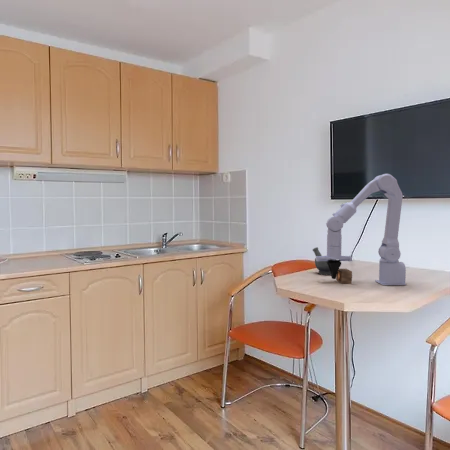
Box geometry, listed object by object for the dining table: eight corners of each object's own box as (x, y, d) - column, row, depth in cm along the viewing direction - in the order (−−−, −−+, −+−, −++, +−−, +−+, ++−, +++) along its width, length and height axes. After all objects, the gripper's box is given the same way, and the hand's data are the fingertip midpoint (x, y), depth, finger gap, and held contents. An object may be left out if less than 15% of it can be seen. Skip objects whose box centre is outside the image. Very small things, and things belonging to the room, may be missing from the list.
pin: (349, 279, 164) (349, 270, 163) (352, 281, 160) (353, 271, 160) (335, 279, 164) (335, 270, 163) (338, 281, 160) (338, 272, 160)
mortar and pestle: (339, 273, 182) (339, 247, 181) (332, 276, 174) (332, 249, 173) (316, 270, 188) (316, 246, 188) (308, 273, 181) (308, 248, 180)
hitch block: (346, 280, 165) (346, 268, 165) (351, 283, 158) (352, 271, 158) (336, 280, 165) (336, 268, 165) (342, 283, 158) (342, 271, 158)
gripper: (348, 244, 165) (347, 276, 166) (314, 244, 165) (313, 276, 165) (354, 246, 158) (353, 280, 159) (318, 246, 158) (318, 280, 158)
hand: (333, 278), depth 162 cm, fingers closed
